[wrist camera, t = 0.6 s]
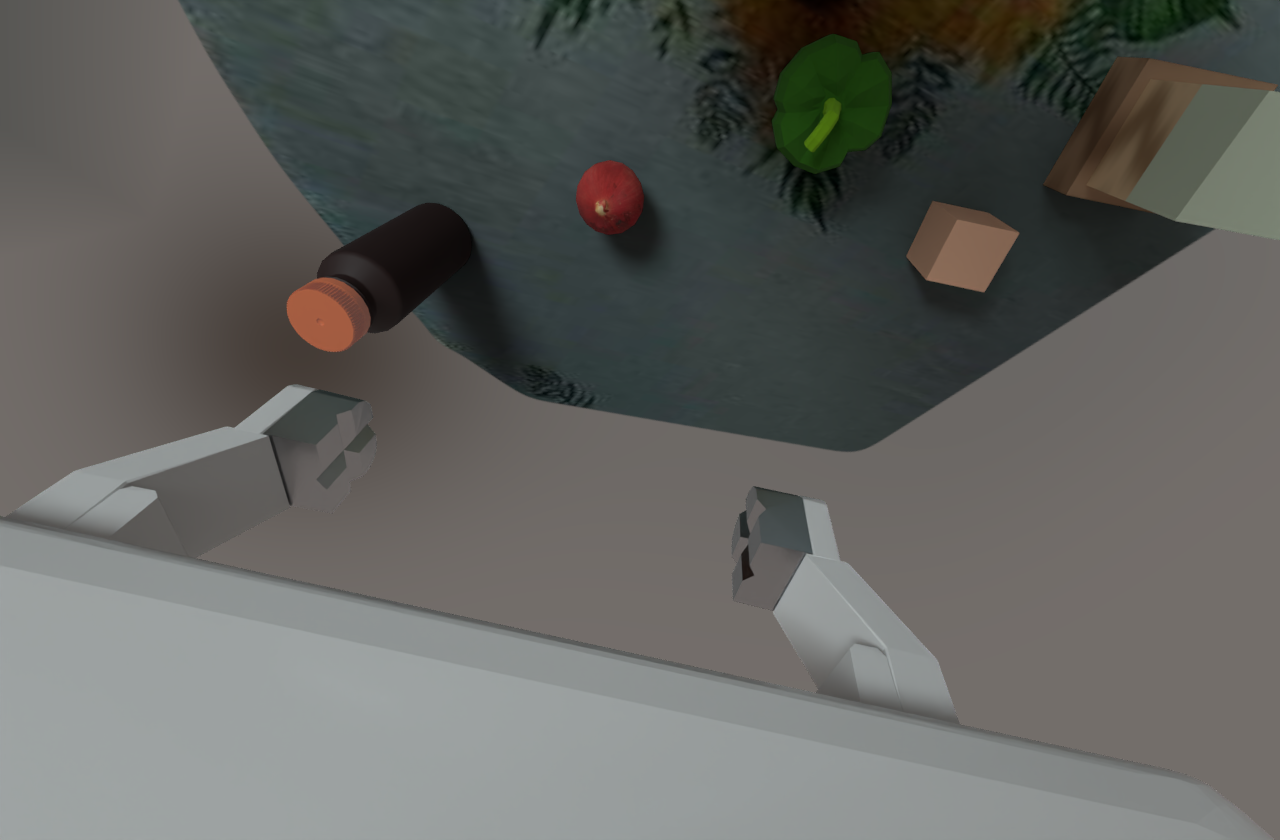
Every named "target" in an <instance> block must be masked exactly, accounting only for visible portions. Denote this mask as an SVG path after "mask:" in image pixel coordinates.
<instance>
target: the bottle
mask: <svg viewBox="0 0 1280 840" xmlns="http://www.w3.org/2000/svg"><path fill="white" fill-rule="evenodd" d="M471 248H472V242H471V235H470V233H469V230H468V228H467V226H466V224H465V223H464V222H463V220H462V219H461V218H460V216H459V215H458V214H456V213H455V212H454V211H452V210H451V209H450V208H448V207H446V206H443V205H441V204H436V203H425V204H421V205H418V206H416V207H414V208H412V209H410V210H409V211H407V212H405V213H403V214H401V215H400V216H398V217H396V218H394V219H392V220H390V221H389V222H387V223H385V224H383V225H381V226H380V227H378V228H376V229H374V230H372V231H371V232H369V233H367V234H365V235H363V236H361V237H360V238H358V239H356V240H354V241H352V242H351V243H349V244H347V245H345V246H343V247H341V248H340V249H338V250H336V251H334V252H332V253H331V254H330V255H329V256H328V257H326V258H325V259H324V260H323V261H322V263H321V265H320V267H319V270H318V272H317V279H315V280H313V281H311V282H310V283H308V284H306V285H305V286H303V287H301V288H300V289H298V290H296V291H295V292H293V293H292V294H291V296H290V297H289V300H288V301H287V302H288V303H287V314H288V317H289V320H290V322H291V324H292V326H293V328H294V329H295V330H296V332H297V333H298V334H299V335H300V336H301V337H302V338H303V339H304V340H305V341H307V342H308V343H309V344H312V346H315V347H317V348H319V349H322V350H325V351H329V352H330V351H332V352H336V351H337V352H339V351H340V352H341V351H343V350H346V349H348V348H349V347H351V346H352V345H353V344H354V343H355V342H357V341H358V340H359V339H360V338H361V337H363V336H364V335H365V334H366V333H367V332H370V333H379V332H383V331H388V330H389V329H391V328H392V327H394V326H395V325H397V324H398V323H399V322H400V321H401V320H402V319H403V318H405V317H406V316H407V315H408V314H409V313H410V312H411V311H413V310H414V309H415V308H416V307H417V306H418V305H419V304H421V303H422V302H423V301H424V300H425V299H426V298H427V297H428V296H430V295H431V294H432V293H433V292H434V291H435V290H436V289H437V288H439V287H440V286H441V285H442V284H443V283H444V282H445V281H446V280H448V279H449V278H450V277H451V276H452V275H453V274H454V273H456V272H457V271H458V270H459V269H460V268H461V267H462V266H463V265H465V263H466V262H467V260H468V259H469V257H470V254H471Z"/></svg>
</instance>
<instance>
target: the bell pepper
mask: <svg viewBox="0 0 1280 840" xmlns="http://www.w3.org/2000/svg"><path fill="white" fill-rule="evenodd" d="M774 101H775V104H776V107H777V111H776V113H775V115H774V117H773V119H772V126H773V132H774V138H775V144H776V146H777V149H778V150H779V151H780V152H781V153H782V154H783V155H784V156H785V157H786V158H787V159H788V160H789V161H790V162H791V163H792V165H793V166H796V167H798V168H801V169H803V170H806V171H808V172H811V173H813V174H817V173H820V172H823V171H827V170H830V169H833V168H836V167H840V165H841V163H842V162H843V160H844V158H845V156H846V154H847V152H852V151H863V150H866V149H867V148H869V147H870V146H871V145H872V144H873V143H874V142H875V141H877V140H878V139H879V138H880V137H881V136H882V132H883V129H884V126H885V123H886V120H887V117H888V114H889V111H890V108H891V105H892V73H891V71H890V69H889V68H888V66H887V64H886V63H885V61H884V59H883V58H882V56H881V54H880V52H870V53H866V54H862V53H861V51H860V48H859V46H858V43H857V41H854V40H851V39H848V38H845V37H842V36H839V35H836V34H830V35H827V36H825V37H823V38H821V39H819V40H817V41H815V42H813V43H811V44H809V45H807V46H804V47H802V48H801V49H800V50H799V51H798V53H797V54H796V55H795V56H794V57H793V58H792V60H791V61H790V62H789V63H788V64H787V66H786V67H785V68H784V69H783V70H782V72H781V73H780V76H779V79H778V83H777V87H776V91H775V94H774Z"/></svg>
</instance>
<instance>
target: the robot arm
mask: <svg viewBox="0 0 1280 840" xmlns="http://www.w3.org/2000/svg"><path fill="white" fill-rule="evenodd" d="M372 418H373V414H372V409H371V405H370V404H369V403H368V402H366V401H364V400H360V399H356V398H352V397H348V396H344V395H339V394H336V393H332V392H328V391H323V390H317V389H313V388H309V387H305V386H301V385H297V384H295V385H290V386H287V387H286V388H285V389H283V390H282V391H281V392H280V393H278V394H277V395H276V396H274V397H273V398H272V399H271V400H269V401H268V402H267V403H266V404H264V405H263V406H262V407H261V408H259V409H258V410H257V411H255V412H254V413H253V414H252V415H250V416H249V417H248V418H247V419H245V420H244V421H243V422H241V423H240V424H239V425H238V426H236V427H235V428H230V427H224V428H220V429H216V430H213V431H210V432H206V433H203V434H200V435H196V436H192V437H189V438H186V439H182V440H179V441H175V442H172V443H169V444H165V445H162V446H159V447H155V448H152V449H148V450H145V451H141V452H138V453H135V454H131V455H128V456H124V457H121V458H117V459H114V460H110V461H107V462H104V463H100V464H97V465H93V466H90V467H86V468H83V469H80V470H76V471H74V472H72V473H71V474H69V475H68V476H66V477H65V478H63V479H62V480H60V481H59V482H57V483H56V484H54V485H53V486H51V487H50V488H48V489H47V490H45V491H43V492H42V493H40V494H39V495H38V496H36V497H34V498H33V499H32V500H30V501H28V502H27V503H25V504H24V505H22V506H21V507H20V508H18V509H17V510H15V511H13V512H12V513H10V514H9V515H7V516H6V517H3V516H0V840H1275V839H1274V838H1272V837H1271V836H1270V835H1269V834H1268V833H1267V832H1266V831H1264V830H1263V829H1262V828H1261V827H1260V826H1259V825H1257V824H1256V823H1255V822H1254V821H1253V820H1252V819H1251V818H1250V817H1248V816H1247V815H1246V814H1245V813H1244V812H1243V811H1242V810H1240V809H1239V808H1238V807H1237V806H1235V805H1234V804H1233V803H1231V802H1230V801H1229V800H1228V799H1226V798H1225V797H1223V795H1221V794H1220V793H1219V792H1217V791H1216V790H1215V789H1214V788H1212V787H1211V786H1210V785H1208V784H1206V783H1204V782H1203V781H1201V780H1199V779H1196V778H1194V777H1191V776H1189V775H1187V774H1184V773H1180V772H1176V771H1172V770H1169V769H1165V768H1161V767H1156V766H1151V765H1147V764H1142V763H1138V762H1133V761H1128V760H1123V759H1118V758H1113V757H1109V756H1104V755H1100V754H1095V753H1091V752H1085V751H1081V750H1077V749H1072V748H1067V747H1062V746H1058V745H1053V744H1048V743H1044V742H1039V741H1035V740H1030V739H1025V738H1021V737H1016V736H1011V735H1006V734H1002V733H998V732H993V731H988V730H984V729H979V728H974V727H970V726H965V725H961V724H960V723H959V720H958V718H957V715H956V712H955V709H954V706H953V704H952V700H951V698H950V695H949V692H948V689H947V687H946V684H945V681H944V678H943V675H942V672H941V670H940V667H939V664H938V661H937V659H936V658H935V657H934V656H933V655H932V654H931V653H930V652H929V650H928V649H926V647H925V646H924V645H923V644H922V643H921V642H920V641H919V640H918V639H917V637H916V636H915V635H914V634H913V633H912V632H911V631H910V630H909V629H908V628H907V627H906V626H905V625H904V624H903V622H902V621H901V620H900V619H899V618H898V617H897V616H896V615H895V614H894V613H893V611H892V610H891V609H890V608H889V607H888V606H887V605H886V604H885V603H884V602H883V601H882V599H881V598H880V597H879V596H878V595H877V594H876V593H875V592H874V591H873V590H872V589H871V588H870V587H869V586H868V584H867V583H866V582H865V581H864V580H863V579H862V578H861V577H860V576H859V575H858V573H857V572H856V571H855V570H854V569H853V568H852V567H851V566H850V565H849V564H848V563H847V562H842V561H841V560H840V556H839V553H838V548H837V544H836V540H835V536H834V532H833V528H832V524H831V520H830V516H829V511H828V507H827V504H826V503H825V501H824V500H820V499H814V498H809V497H804V496H797V495H792V494H788V493H782V492H778V491H773V490H769V489H764V488H760V487H755V486H753V487H752V488H751V490H750V491H749V493H748V496H747V498H746V511H744V512H742V513H741V514H739V517H738V520H737V522H736V525H735V529H734V533H733V538H732V558H733V559H734V561H735V562H736V563H737V564H736V567H735V569H734V571H733V573H732V584H733V601H736V602H739V603H743V604H747V605H751V606H756V607H759V608H763V609H768V610H772V611H773V614H774V616H775V617H776V619H777V621H778V622H779V624H780V626H781V627H782V629H783V631H784V633H785V634H786V636H787V638H788V639H789V641H790V643H791V644H792V646H793V647H794V649H795V651H796V653H797V654H798V656H799V658H800V660H801V661H802V663H803V665H804V666H805V668H806V670H807V671H808V673H809V675H810V676H811V678H812V680H813V681H814V683H815V685H816V687H817V688H818V690H817V692H816V693H813V692H809V691H804V690H800V689H795V688H790V687H786V686H781V685H777V684H772V683H767V682H763V681H758V680H754V679H749V678H744V677H740V676H735V675H731V674H726V673H722V672H717V671H712V670H708V669H703V668H698V667H694V666H690V665H685V664H680V663H676V662H671V661H667V660H662V659H657V658H652V657H648V656H643V655H639V654H634V653H629V652H625V651H620V650H615V649H611V648H606V647H602V646H597V645H593V644H588V643H583V642H578V641H574V640H569V639H565V638H560V637H556V636H551V635H546V634H541V633H536V632H532V631H528V630H523V629H519V628H514V627H509V626H505V625H500V624H495V623H491V622H487V621H482V620H477V619H473V618H468V617H464V616H459V615H454V614H450V613H445V612H441V611H436V610H431V609H427V608H422V607H417V606H413V605H408V604H403V603H399V602H395V601H390V600H385V599H380V598H376V597H371V596H367V595H362V594H358V593H353V592H349V591H343V590H339V589H335V588H330V587H325V586H321V585H316V584H311V583H307V582H302V581H297V580H293V579H289V578H284V577H279V576H275V575H270V574H265V573H261V572H256V571H251V570H247V569H243V568H238V567H233V566H228V565H224V564H219V563H215V562H210V561H206V560H201V559H196V557H198V556H200V555H202V554H204V553H206V552H208V551H210V550H211V549H213V548H215V547H217V546H219V545H221V544H222V543H224V542H226V541H228V540H230V539H232V538H234V537H236V536H237V535H240V534H241V533H243V532H245V531H247V530H249V529H251V528H253V527H255V526H257V525H259V524H260V523H262V522H264V521H266V520H268V519H270V518H272V517H273V516H275V515H277V514H279V513H281V512H283V511H285V510H287V509H289V508H290V506H296V507H301V508H306V509H311V510H316V511H322V512H327V513H333V512H334V511H335V510H336V508H337V507H338V506H339V505H340V504H341V502H342V501H343V500H344V499H345V497H346V496H347V495H348V494H349V493H350V491H351V487H350V481H353V480H355V479H358V478H360V477H362V476H364V474H365V473H366V472H367V470H368V469H369V468H370V467H371V464H372V462H373V459H374V457H375V454H376V446H377V441H376V434H375V433H374V432H373V431H372V429H371V428H370V427H369V426H368V423H369V421H370V420H371V419H372Z"/></svg>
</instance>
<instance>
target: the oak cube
mask: <svg viewBox="0 0 1280 840" xmlns="http://www.w3.org/2000/svg"><path fill="white" fill-rule="evenodd" d="M1201 86H1202V84H1195V83H1184V82H1174V81H1163V80H1153V79H1150V81H1149V83H1148V84H1147V86H1146V88H1145V89H1144V91H1143V93H1142V94H1141V96H1140V97H1139V99H1138V101H1137V102H1136V104H1135V106H1134V107H1133V109H1132V111H1131V112H1130V114H1129V116H1128V117H1127V119H1126V120H1125V122H1124V124H1123V125H1122V127H1121V129H1120V130H1119V132H1118V134H1117V135H1116V137H1115V139H1114V140H1113V142H1112V143H1111V145H1110V147H1109V148H1108V150H1107V152H1106V153H1105V155H1104V157H1103V158H1102V160H1101V162H1100V163H1099V165H1098V166H1097V168H1096V170H1095V171H1094V173H1093V175H1092V176H1091V178H1090V180H1089V181H1088V183H1087V186H1089V187H1092V188H1094V189H1097V190H1099V191H1102V192H1104V193H1107V194H1109V195H1112V196H1114V197H1117V198H1119V199H1122V200H1124V201H1126V199H1127V198H1128V196H1129V195H1130V193H1131V192H1132V190H1133V189H1134V187H1135V186H1136V184H1137V182H1138V181H1139V179H1140V178H1141V176H1142V175H1143V173H1144V172H1145V170H1146V169H1147V167H1148V166H1149V164H1150V163H1151V161H1152V160H1153V158H1154V157H1155V155H1156V154H1157V152H1158V151H1159V149H1160V148H1161V146H1162V145H1163V143H1164V142H1165V140H1166V139H1167V137H1168V136H1169V134H1170V133H1171V131H1172V130H1173V128H1174V126H1175V125H1176V123H1177V122H1178V120H1179V119H1180V117H1181V116H1182V114H1183V113H1184V111H1185V110H1186V108H1187V107H1188V105H1189V104H1190V102H1191V101H1192V99H1193V98H1194V96H1195V95H1196V93H1197V92H1198V90H1199V89H1200V87H1201Z"/></svg>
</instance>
